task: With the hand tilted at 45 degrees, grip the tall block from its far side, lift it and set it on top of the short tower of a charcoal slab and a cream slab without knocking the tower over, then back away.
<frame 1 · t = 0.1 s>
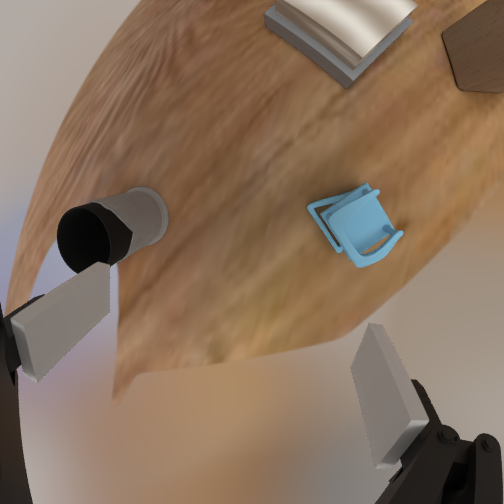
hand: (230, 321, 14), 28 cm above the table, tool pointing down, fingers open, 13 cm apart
tower base: (337, 27, 33), on the table, touching tower top
block: (471, 63, 31), on the table
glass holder: (134, 232, 44), on the table
tower top: (343, 13, 28), point 4 cm above the table, touching tower base
chair: (346, 212, 40), on the table
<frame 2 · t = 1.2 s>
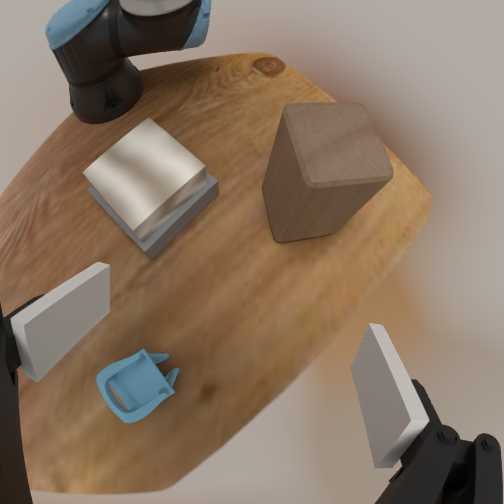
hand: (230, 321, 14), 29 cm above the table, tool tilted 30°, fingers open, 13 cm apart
tower base: (155, 198, 46), on the table, touching tower top
block: (297, 210, 48), on the table
tower top: (148, 185, 41), point 5 cm above the table, touching tower base
chair: (151, 376, 40), on the table
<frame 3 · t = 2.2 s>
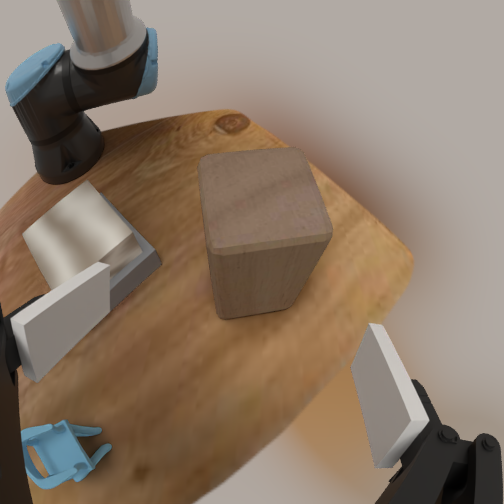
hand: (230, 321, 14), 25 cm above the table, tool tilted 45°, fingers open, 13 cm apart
tower base: (100, 266, 42), on the table, touching tower top
block: (248, 281, 42), on the table
tower top: (85, 251, 38), point 4 cm above the table, touching tower base
chair: (84, 448, 30), on the table
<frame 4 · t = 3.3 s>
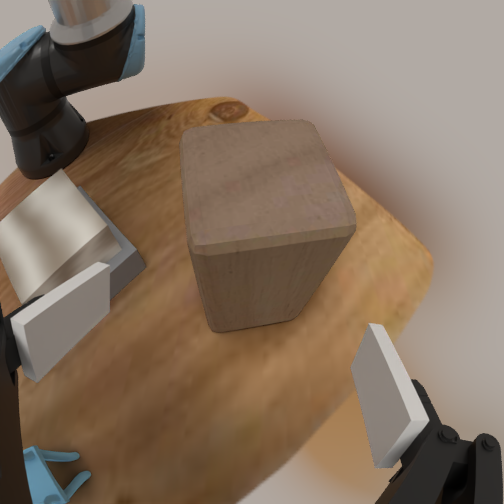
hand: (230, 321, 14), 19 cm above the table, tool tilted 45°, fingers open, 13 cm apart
tower base: (78, 269, 36), on the table, touching tower top
block: (246, 287, 36), on the table
tower top: (59, 250, 31), point 4 cm above the table, touching tower base
chair: (62, 473, 23), on the table
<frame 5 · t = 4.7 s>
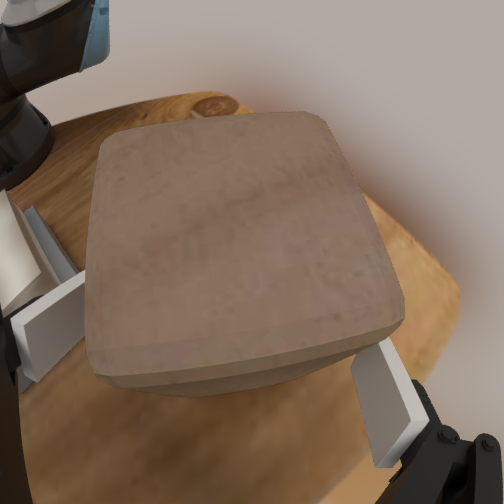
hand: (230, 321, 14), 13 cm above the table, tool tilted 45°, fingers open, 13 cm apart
tower base: (33, 305, 27), on the table
block: (229, 338, 27), on the table
tower top: (4, 289, 23), point 4 cm above the table
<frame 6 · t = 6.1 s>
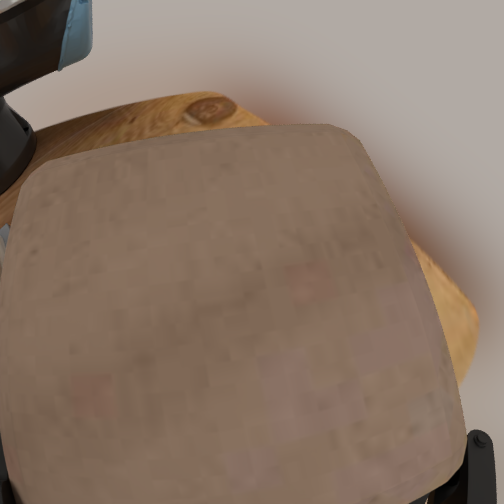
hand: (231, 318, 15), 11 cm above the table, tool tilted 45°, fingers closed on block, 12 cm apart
block: (224, 382, 23), on the table, touching gripper
when the fingers open (22 cm above the table, at t = 12.5 s): block drops 2 cm, resting on tower top.
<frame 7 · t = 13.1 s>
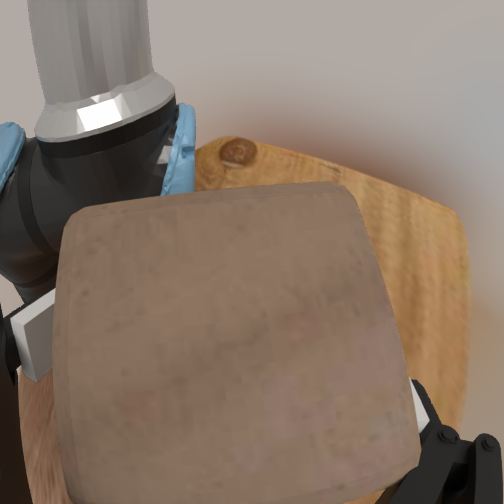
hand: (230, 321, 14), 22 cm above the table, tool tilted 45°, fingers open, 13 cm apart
block: (231, 385, 25), point 9 cm above the table, touching gripper, tower top
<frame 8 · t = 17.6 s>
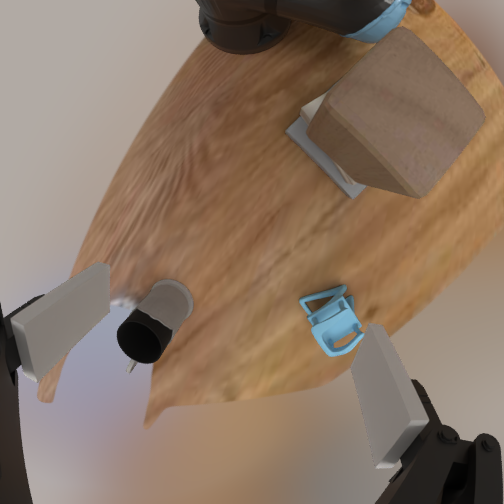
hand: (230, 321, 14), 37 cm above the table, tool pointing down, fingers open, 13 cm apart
tower base: (346, 135, 45), on the table, touching tower top
block: (355, 133, 36), point 9 cm above the table, touching tower top
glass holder: (166, 311, 57), on the table
tower top: (356, 127, 40), point 4 cm above the table, touching block, tower base
chair: (329, 302, 53), on the table
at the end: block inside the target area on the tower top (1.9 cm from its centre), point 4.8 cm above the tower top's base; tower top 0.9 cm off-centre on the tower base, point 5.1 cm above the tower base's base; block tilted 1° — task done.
